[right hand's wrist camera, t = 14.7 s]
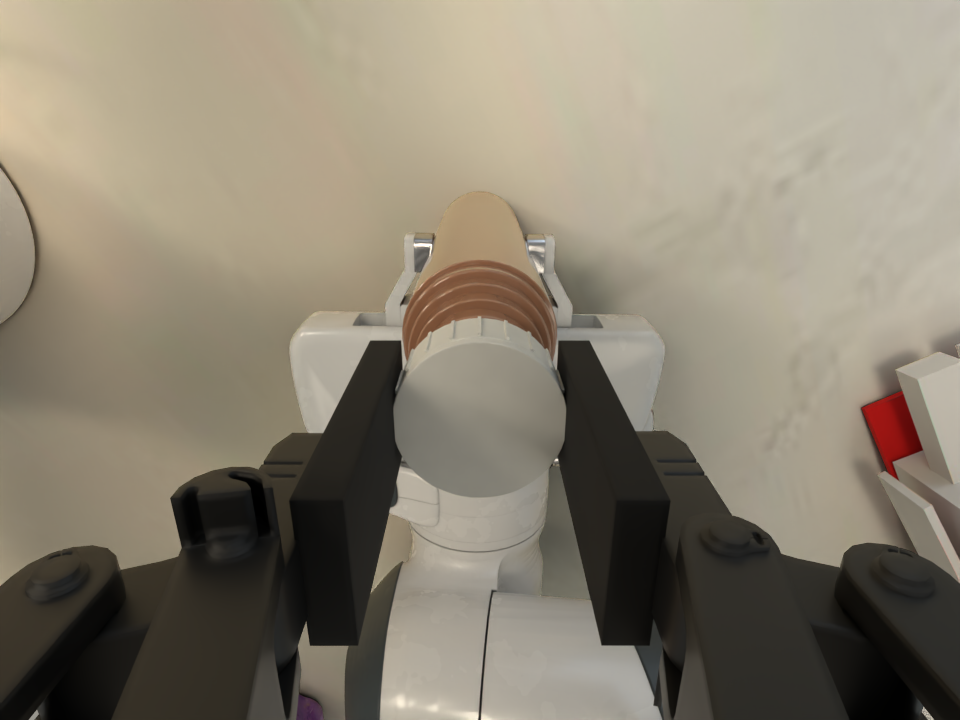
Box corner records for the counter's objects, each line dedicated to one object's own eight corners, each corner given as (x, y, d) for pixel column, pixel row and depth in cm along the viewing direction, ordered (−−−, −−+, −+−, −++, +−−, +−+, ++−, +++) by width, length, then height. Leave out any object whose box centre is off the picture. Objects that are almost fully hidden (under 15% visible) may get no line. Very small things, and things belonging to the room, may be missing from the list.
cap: (513, 484, 16) (516, 524, 14) (374, 424, 15) (362, 459, 13) (590, 359, 14) (603, 388, 13) (441, 287, 14) (436, 308, 12)
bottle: (487, 285, 38) (500, 537, 15) (425, 240, 37) (332, 436, 14) (534, 223, 36) (631, 395, 13) (470, 174, 35) (454, 269, 12)
